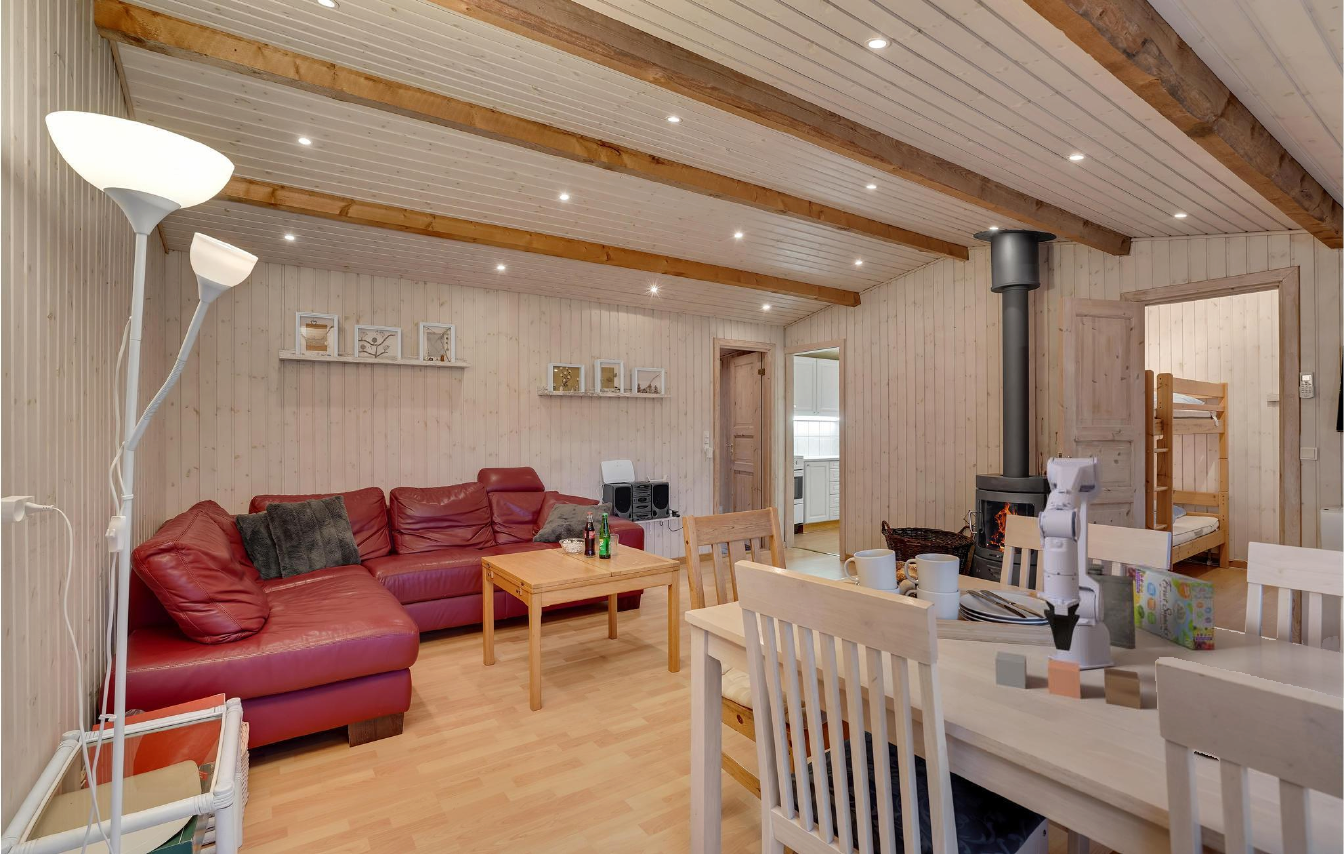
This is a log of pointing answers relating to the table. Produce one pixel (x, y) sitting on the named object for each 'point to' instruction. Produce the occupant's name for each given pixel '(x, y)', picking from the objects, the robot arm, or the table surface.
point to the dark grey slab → (1116, 606)
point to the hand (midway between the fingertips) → (1063, 643)
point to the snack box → (1173, 606)
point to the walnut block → (1122, 688)
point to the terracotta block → (1064, 678)
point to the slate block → (1011, 670)
